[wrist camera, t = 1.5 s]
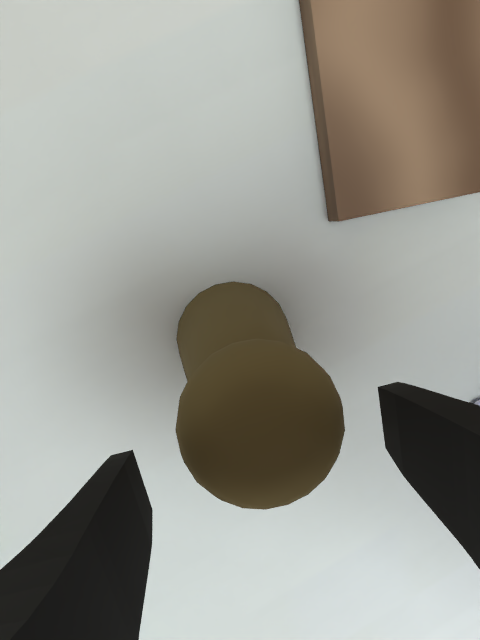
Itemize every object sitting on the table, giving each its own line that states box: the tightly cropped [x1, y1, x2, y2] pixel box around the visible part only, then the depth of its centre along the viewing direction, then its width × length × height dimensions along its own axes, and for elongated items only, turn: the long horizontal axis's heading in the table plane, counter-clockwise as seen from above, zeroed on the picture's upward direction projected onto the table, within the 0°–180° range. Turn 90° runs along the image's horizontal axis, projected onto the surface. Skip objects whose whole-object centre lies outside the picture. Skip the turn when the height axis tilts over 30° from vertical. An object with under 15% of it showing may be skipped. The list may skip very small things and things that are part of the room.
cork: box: [176, 282, 345, 509], centre depth 16 cm, size 6×6×11 cm
